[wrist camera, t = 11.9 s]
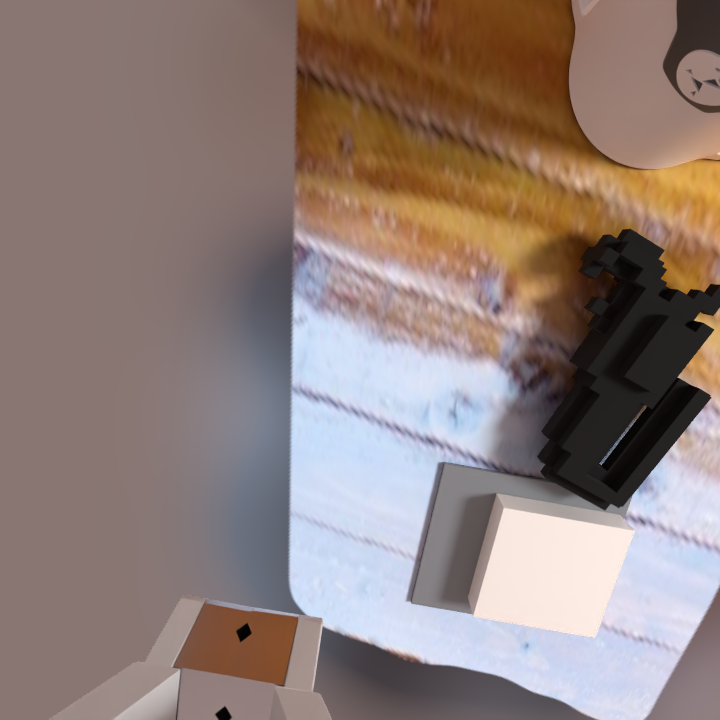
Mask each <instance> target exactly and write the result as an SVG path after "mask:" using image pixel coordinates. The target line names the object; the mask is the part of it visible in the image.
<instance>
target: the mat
mask: <svg viewBox="0 0 720 720" xmlns="http://www.w3.org/2000/svg"><path fill="white" fill-rule="evenodd" d="M496 493H499V494H504V495H510V496H516V497H521V498H527V499H533V500H539V501H544V502H550V503H556V504H561V505H567V506H573V507H578V508H584V509H590V510H596V511H601V512H607V513H613V514H618V515H621V516H622V518H623V519H624V518H625V515H626V512H627V509H628V507H629V504H630V501H631V498H632V496H631V497H630V499H629V500H628V501H627V502H626V504H625V505H624V506H623V507H620V508H617V507H616V506H614V505H612V504H610V505H609V507H608V508H607V509H606V510H605V511H604V510H603V509H601V508H599V507H597V506H595V505H594V504H592V503H590V502H588V501H586V500H585V499H583V498H581V497H579V496H577V495H576V494H574V493H572V492H570V491H568V490H566V489H565V488H563V487H561V486H559V485H557V484H556V483H554V482H552V481H549V480H543V479H538V478H532V477H526V476H521V475H515V474H509V473H503V472H498V471H492V470H486V469H481V468H475V467H469V466H464V465H458V464H452V463H446V462H444V466H443V470H442V474H441V478H440V482H439V487H438V491H437V495H436V499H435V503H434V507H433V512H432V516H431V520H430V524H429V528H428V532H427V537H426V541H425V545H424V549H423V553H422V558H421V562H420V566H419V570H418V574H417V578H416V583H415V587H414V591H413V595H412V599H411V604H417V605H423V606H429V607H434V608H440V609H446V610H451V611H457V612H463V613H469V614H472V611H471V607H470V603H469V599H468V595H469V591H470V588H471V584H472V580H473V577H474V573H475V569H476V566H477V562H478V559H479V555H480V551H481V548H482V544H483V540H484V537H485V533H486V530H487V526H488V522H489V519H490V515H491V511H492V508H493V504H494V501H495V497H496Z"/></svg>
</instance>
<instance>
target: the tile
mask: <svg viewBox="0 0 720 720" xmlns="http://www.w3.org/2000/svg"><path fill="white" fill-rule="evenodd" d="M634 532H635V530H634V529H633V528H632V527H631V526H630V525H629V524H628V523H627V522H626V521H625V520H624V519H623V518H622V516H621V515H618V514H613V513H607V512H601V511H596V510H590V509H584V508H578V507H573V506H567V505H561V504H556V503H550V502H544V501H539V500H533V499H527V498H521V497H516V496H510V495H504V494H499V493H496V497H495V501H494V504H493V508H492V511H491V515H490V519H489V522H488V526H487V530H486V533H485V537H484V540H483V544H482V548H481V551H480V555H479V559H478V562H477V566H476V569H475V573H474V577H473V580H472V584H471V588H470V591H469V595H468V599H469V603H470V607H471V611H472V615H473V617H478V618H483V619H489V620H495V621H501V622H506V623H512V624H518V625H524V626H529V627H535V628H541V629H547V630H552V631H558V632H564V633H570V634H575V635H581V636H587V637H593V638H595V637H596V634H597V632H598V629H599V626H600V624H601V621H602V618H603V615H604V613H605V610H606V607H607V605H608V602H609V599H610V597H611V594H612V591H613V588H614V586H615V583H616V580H617V578H618V575H619V572H620V569H621V567H622V564H623V561H624V559H625V556H626V553H627V551H628V548H629V545H630V542H631V540H632V537H633V534H634Z"/></svg>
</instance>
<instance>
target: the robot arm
mask: <svg viewBox="0 0 720 720" xmlns="http://www.w3.org/2000/svg"><path fill="white" fill-rule="evenodd" d="M571 1H572V9H573V15H574V21H575V26H576V30H575V39H574V45H573V50H572V55H571V60H570V68H569V91H570V98H571V103H572V107H573V110H574V113H575V116H576V119H577V121H578V123H579V125H580V127H581V129H582V131H583V132H584V134H585V135H586V137H587V138H588V139H589V140H590V142H591V143H592V144H593V145H594V146H595V147H596V148H597V149H598V150H599V151H600V152H602V153H603V154H604V155H606V156H607V157H609V158H611V159H612V160H614V161H616V162H619V163H621V164H624V165H627V166H630V167H635V168H641V169H661V168H668V167H673V166H677V165H680V164H683V163H686V162H689V161H693V160H697V159H703V158H707V159H714V160H720V0H571ZM322 626H323V620H322V618H317V617H311V616H304V615H300V616H299V615H297V614H291V613H285V612H279V611H273V610H267V609H261V608H252V607H247V606H243V605H238V604H233V603H228V602H223V601H218V600H213V599H205V598H200V597H196V596H190V595H186V594H185V595H184V596H183V597H182V598H181V599H180V600H179V602H178V603H177V605H176V607H175V608H174V610H173V612H172V614H171V615H170V617H169V619H168V621H167V622H166V624H165V626H164V628H163V629H162V631H161V633H160V635H159V636H158V638H157V640H156V642H155V643H154V645H153V647H152V649H151V651H150V652H149V654H148V656H147V657H146V659H145V661H144V662H137V661H136V662H134V663H133V664H131V665H130V666H129V667H127V668H125V669H124V670H122V671H121V672H119V673H118V674H116V675H115V676H113V677H112V678H110V679H109V680H107V681H106V682H104V683H103V684H101V685H100V686H98V687H97V688H95V689H94V690H92V691H91V692H89V693H88V694H86V695H85V696H84V697H82V698H80V699H79V700H77V701H76V702H74V703H73V704H71V705H70V706H68V707H67V708H65V709H64V710H62V711H61V712H59V713H58V714H56V715H55V716H53V717H52V718H50V719H49V720H332V719H331V716H330V714H329V712H328V710H327V708H326V705H325V703H324V701H323V699H322V696H321V694H320V693H315V692H313V687H314V681H315V673H316V667H317V660H318V653H319V646H320V639H321V632H322Z"/></svg>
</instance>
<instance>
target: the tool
mask: <svg viewBox="0 0 720 720" xmlns="http://www.w3.org/2000/svg"><path fill="white" fill-rule="evenodd" d="M664 251H665V250H663V249H662V248H660V247H659V246H657V245H655V244H654V243H652V242H651V241H649V240H647V239H646V238H644V237H643V236H641V235H639V234H638V233H636V232H635V231H633V230H631V229H624V230H622V231H621V233H620V234H619V236H618V237H617V238H615V237H613V236H612V235H603V236H602V237H601V239H600V240H599V242H598V243H597V245H596V246H595V247H588V249H587V250H586V252H585V253H584V255H583V256H582V258H581V260H583V261H584V262H585V263H584V264H583V265H582V267H581V268H580V270H579V272H581V273H582V274H584V275H585V276H587V277H589V278H594V279H596V278H597V277H598V275H599V274H600V272H601V271H602V269H603V270H605V271H607V272H608V273H610V274H611V275H613V276H614V278H613V279H614V280H616V281H617V282H618V283H617V284H616V285H615V287H614V288H613V290H612V291H611V293H610V294H609V295H608V297H607V298H606V300H605V301H604V300H602V299H601V298H599V297H594V296H592V298H591V299H590V300H589V302H588V303H587V305H586V306H585V308H586V309H588V310H589V311H591V312H593V313H594V314H595V315H594V317H593V318H592V320H591V321H590V322H589V324H588V326H589V327H591V328H593V329H592V330H591V332H590V333H589V334H588V336H587V337H586V339H585V340H584V341H583V343H582V344H581V346H580V347H579V349H578V350H577V351H576V353H575V354H574V356H573V357H572V358H571V360H570V362H572V363H573V364H575V365H577V366H578V367H579V369H578V370H577V372H576V373H575V374H574V376H573V377H572V378H574V379H576V380H577V383H576V384H575V385H574V387H573V388H572V390H571V391H570V392H569V394H568V395H567V397H566V398H565V399H564V401H563V402H562V403H561V405H560V406H559V408H558V409H557V410H556V412H555V413H554V415H553V416H552V417H551V419H550V420H549V421H548V423H547V424H546V426H545V427H544V428H543V430H542V431H541V432H542V433H543V434H544V435H545V436H546V437H547V438H549V439H550V440H549V441H548V443H547V444H546V445H545V447H544V448H543V449H542V451H541V452H540V454H539V455H538V456H537V457H538V458H539V459H540V461H541V462H542V463H544V464H546V465H545V466H544V467H543V469H542V470H541V471H540V472H541V473H542V475H543V476H544V477H545V478H547V479H548V480H550V481H552V482H554V483H556V484H557V485H559V486H561V487H563V488H565V489H566V490H568V491H570V492H572V493H574V494H576V495H577V496H579V497H581V498H583V499H585V500H586V501H588V502H590V503H592V504H594V505H595V506H597V507H599V508H601V509H603V510H604V511H605V510H606V509H607V508H608V507H609V505H610V504H612V505H614V506H616V507H617V508H620V507H623V506H624V505H625V504H626V502H627V501H628V500H629V499H630V497H631V496H632V495H633V494H634V492H635V491H636V490H637V489H638V487H639V486H640V485H641V484H642V483H643V481H644V480H645V479H646V478H647V476H648V475H649V474H650V473H651V471H652V470H653V469H654V468H655V467H656V465H657V464H658V463H659V462H660V460H661V459H662V458H663V457H664V455H665V454H666V453H667V452H668V451H669V449H670V448H671V447H672V446H673V444H674V443H675V442H676V441H677V439H678V438H679V437H680V436H681V435H682V433H683V432H684V431H685V430H686V428H687V427H688V426H689V425H690V423H691V422H692V421H693V420H694V418H695V417H696V416H697V415H698V414H699V412H700V411H701V410H702V409H703V407H704V406H705V405H706V404H707V402H708V401H709V400H710V399H711V398H712V397H710V396H711V395H709V394H708V393H706V392H704V391H703V390H701V389H699V388H697V387H694V386H692V385H690V384H688V383H686V382H685V381H683V380H681V379H679V378H677V377H678V376H679V374H680V373H681V372H682V370H683V369H684V368H685V367H686V365H687V364H688V363H689V361H690V360H691V359H692V358H693V356H694V355H695V354H696V353H697V351H698V350H699V349H700V347H701V346H702V345H703V344H704V342H705V341H706V340H707V338H708V337H709V336H710V335H711V333H712V332H713V331H714V329H712V328H711V327H709V326H707V325H706V324H704V323H702V322H697V321H694V319H695V318H696V317H697V315H698V314H699V313H700V312H701V313H703V314H707V315H712V316H714V314H715V313H716V312H717V310H718V309H719V308H720V285H714V284H710V286H709V287H708V288H707V289H706V291H705V292H702V291H701V290H693V289H691V290H690V291H689V292H688V294H687V295H686V294H684V293H683V292H681V291H679V290H676V289H669V288H667V287H666V286H665V285H666V282H665V281H663V280H662V279H661V277H662V276H663V275H664V273H665V272H666V270H667V269H665V268H663V267H662V266H663V265H664V262H662V261H660V260H659V258H660V256H661V255H662V253H663V252H664ZM644 405H646V406H647V407H646V409H645V410H644V411H643V413H642V414H641V415H640V416H639V418H638V419H637V420H636V422H635V423H634V424H633V426H632V427H631V428H630V429H629V431H628V432H627V433H626V435H625V436H624V437H623V438H622V440H621V441H620V442H619V444H618V445H617V446H616V447H615V449H614V450H613V451H612V453H611V454H610V455H609V456H608V458H607V459H606V460H605V462H604V463H603V464H602V465H600V464H599V463H600V462H601V460H602V459H603V458H604V456H605V455H606V454H607V452H608V451H609V450H610V449H611V447H612V446H613V445H614V443H615V442H616V441H617V440H618V438H619V437H620V436H621V434H622V433H623V432H624V431H625V429H626V428H627V427H628V425H629V424H630V423H631V421H632V420H633V419H634V418H635V416H636V415H637V414H638V412H639V411H640V410H641V409H642V407H643V406H644Z"/></svg>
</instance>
